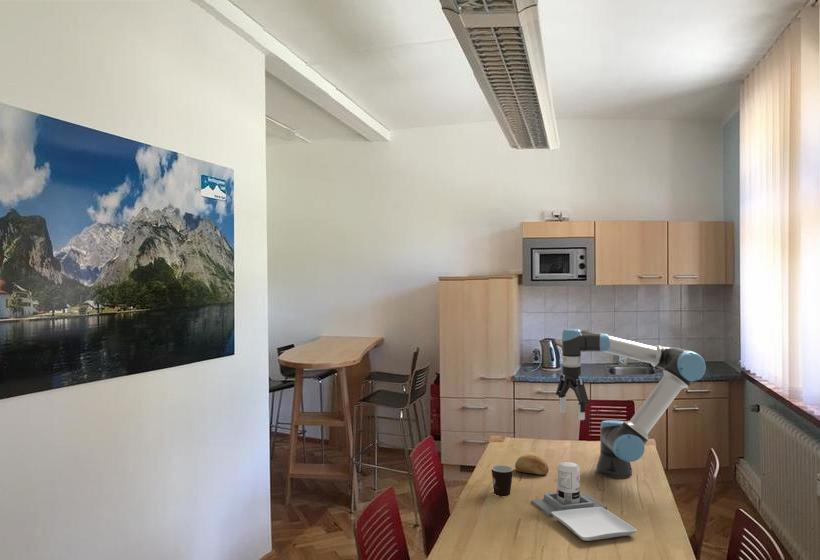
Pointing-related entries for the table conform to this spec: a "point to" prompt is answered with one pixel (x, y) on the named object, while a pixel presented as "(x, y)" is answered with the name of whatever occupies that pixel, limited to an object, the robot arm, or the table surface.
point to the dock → (552, 505)
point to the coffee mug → (502, 479)
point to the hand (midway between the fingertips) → (571, 416)
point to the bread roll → (531, 465)
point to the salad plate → (593, 523)
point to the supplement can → (568, 483)
